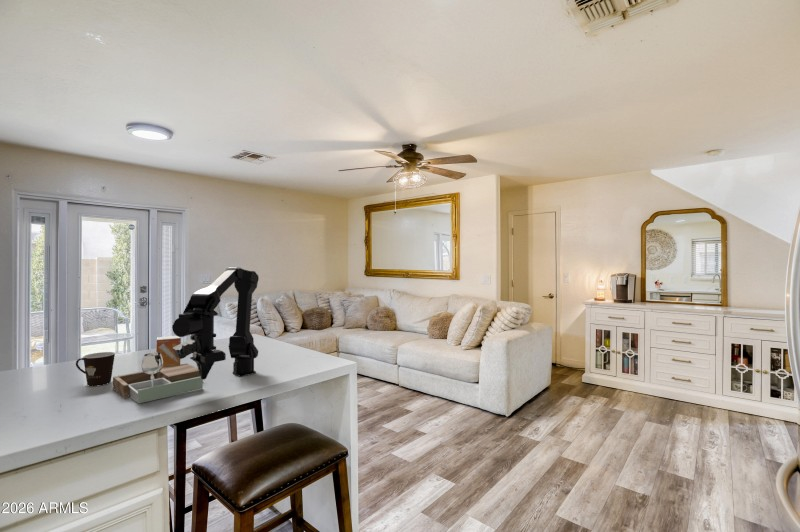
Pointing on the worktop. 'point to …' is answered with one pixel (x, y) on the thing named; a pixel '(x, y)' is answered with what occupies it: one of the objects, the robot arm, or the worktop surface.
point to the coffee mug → (98, 367)
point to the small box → (168, 350)
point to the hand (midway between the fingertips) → (203, 379)
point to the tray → (162, 388)
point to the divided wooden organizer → (168, 373)
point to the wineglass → (152, 364)
